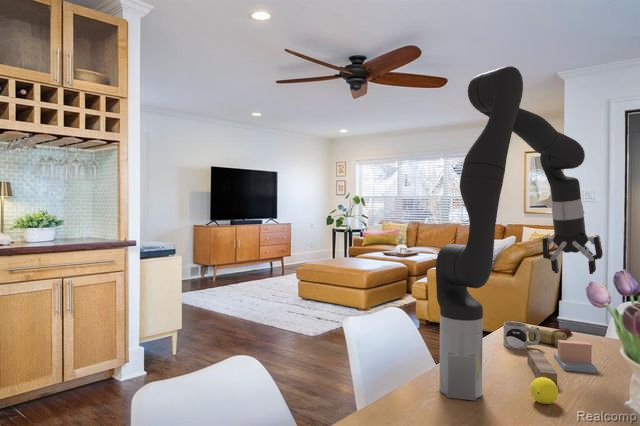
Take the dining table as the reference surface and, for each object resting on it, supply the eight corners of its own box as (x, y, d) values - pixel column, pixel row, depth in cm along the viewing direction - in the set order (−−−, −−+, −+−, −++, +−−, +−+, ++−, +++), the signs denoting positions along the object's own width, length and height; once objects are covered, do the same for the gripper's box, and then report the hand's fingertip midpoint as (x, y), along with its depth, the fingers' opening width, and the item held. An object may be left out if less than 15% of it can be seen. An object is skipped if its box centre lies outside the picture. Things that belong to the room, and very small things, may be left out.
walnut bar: (556, 388, 104) (557, 373, 104) (540, 387, 105) (540, 372, 105) (541, 365, 120) (541, 352, 120) (527, 364, 121) (527, 351, 121)
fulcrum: (596, 373, 113) (597, 349, 113) (564, 370, 115) (564, 347, 115) (583, 359, 124) (583, 337, 124) (553, 356, 126) (554, 335, 126)
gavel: (555, 321, 155) (587, 326, 148) (554, 334, 155) (586, 340, 147) (527, 327, 141) (561, 333, 134) (527, 341, 141) (561, 349, 134)
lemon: (535, 397, 100) (537, 372, 101) (562, 404, 96) (563, 379, 97) (523, 402, 95) (525, 376, 96) (551, 410, 91) (552, 383, 92)
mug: (504, 348, 133) (505, 326, 133) (502, 342, 140) (502, 321, 140) (541, 351, 131) (541, 329, 130) (537, 345, 137) (537, 323, 137)
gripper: (536, 220, 124) (543, 276, 126) (596, 217, 116) (602, 277, 117) (542, 214, 130) (548, 268, 132) (599, 211, 121) (605, 269, 123)
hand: (573, 273), depth 125 cm, fingers open, 8 cm apart
